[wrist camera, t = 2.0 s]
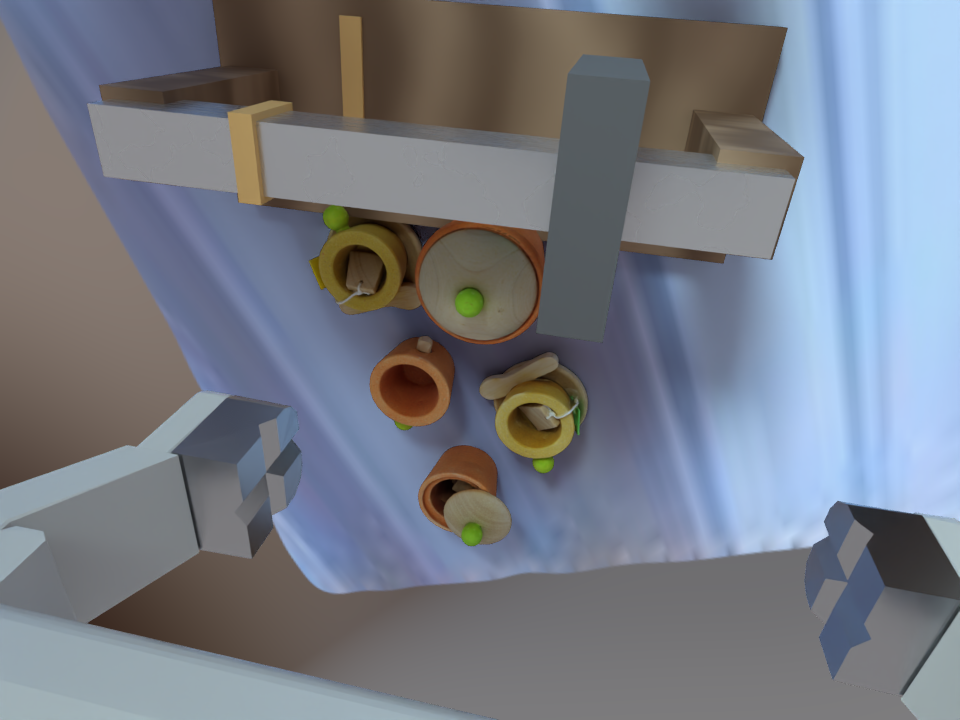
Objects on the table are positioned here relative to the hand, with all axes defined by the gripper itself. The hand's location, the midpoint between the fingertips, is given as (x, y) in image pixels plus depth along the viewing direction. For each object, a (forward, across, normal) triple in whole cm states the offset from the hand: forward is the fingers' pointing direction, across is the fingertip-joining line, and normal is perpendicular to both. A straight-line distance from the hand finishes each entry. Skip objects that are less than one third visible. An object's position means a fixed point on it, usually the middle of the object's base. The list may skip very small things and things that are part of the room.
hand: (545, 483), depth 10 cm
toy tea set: (+31, +6, +16) cm, 35 cm away
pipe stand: (+30, +7, 0) cm, 31 cm away
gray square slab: (+23, 0, 0) cm, 23 cm away
